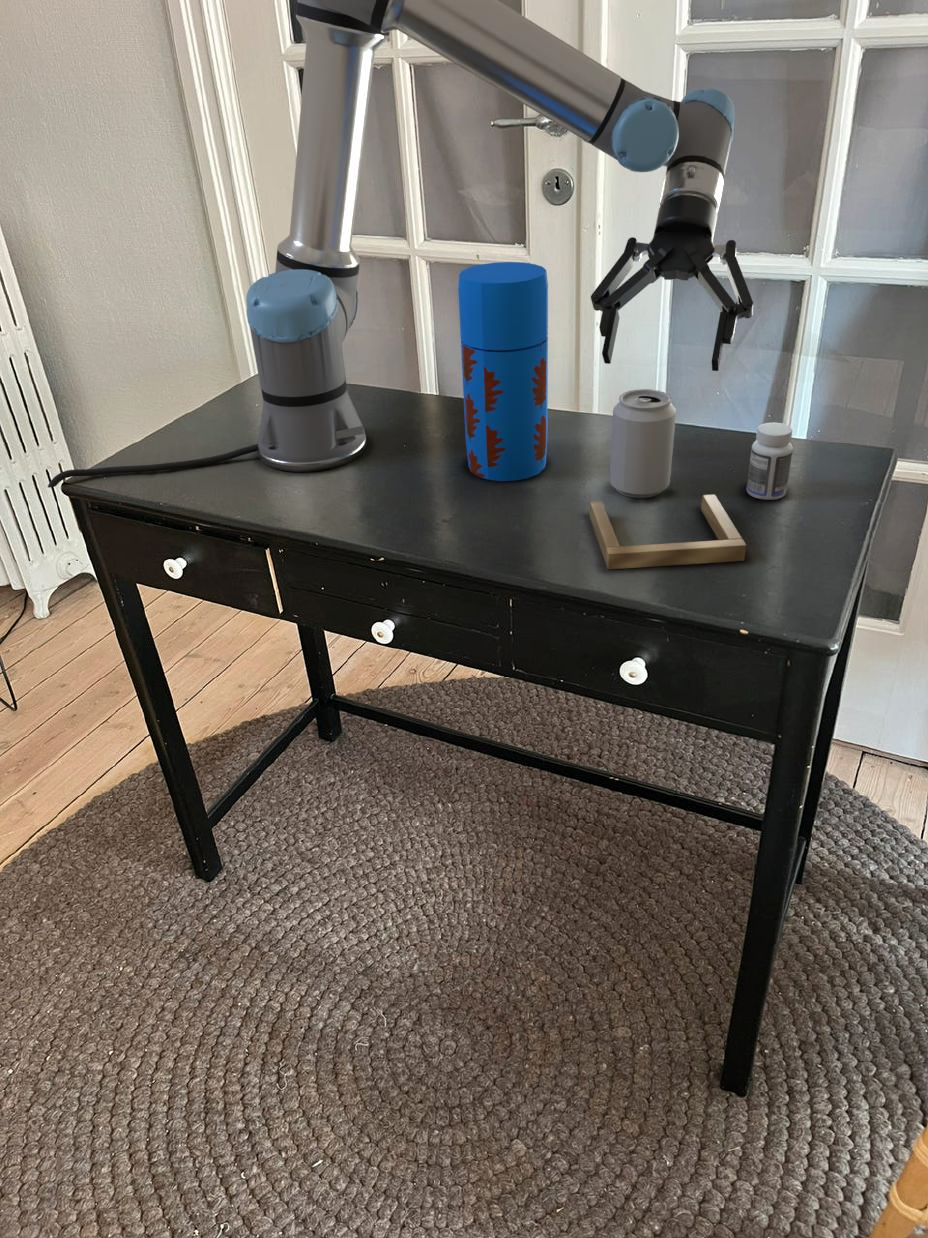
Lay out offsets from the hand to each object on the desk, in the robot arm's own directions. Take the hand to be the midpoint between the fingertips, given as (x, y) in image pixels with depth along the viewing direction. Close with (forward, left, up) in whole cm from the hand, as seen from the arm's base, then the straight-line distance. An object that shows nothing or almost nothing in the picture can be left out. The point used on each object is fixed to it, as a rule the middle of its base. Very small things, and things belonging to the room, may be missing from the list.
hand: (659, 362), depth 115 cm
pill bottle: (+12, -11, -14) cm, 21 cm away
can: (-3, -8, -14) cm, 16 cm away
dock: (-3, -20, -13) cm, 24 cm away
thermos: (-19, +2, -14) cm, 24 cm away
